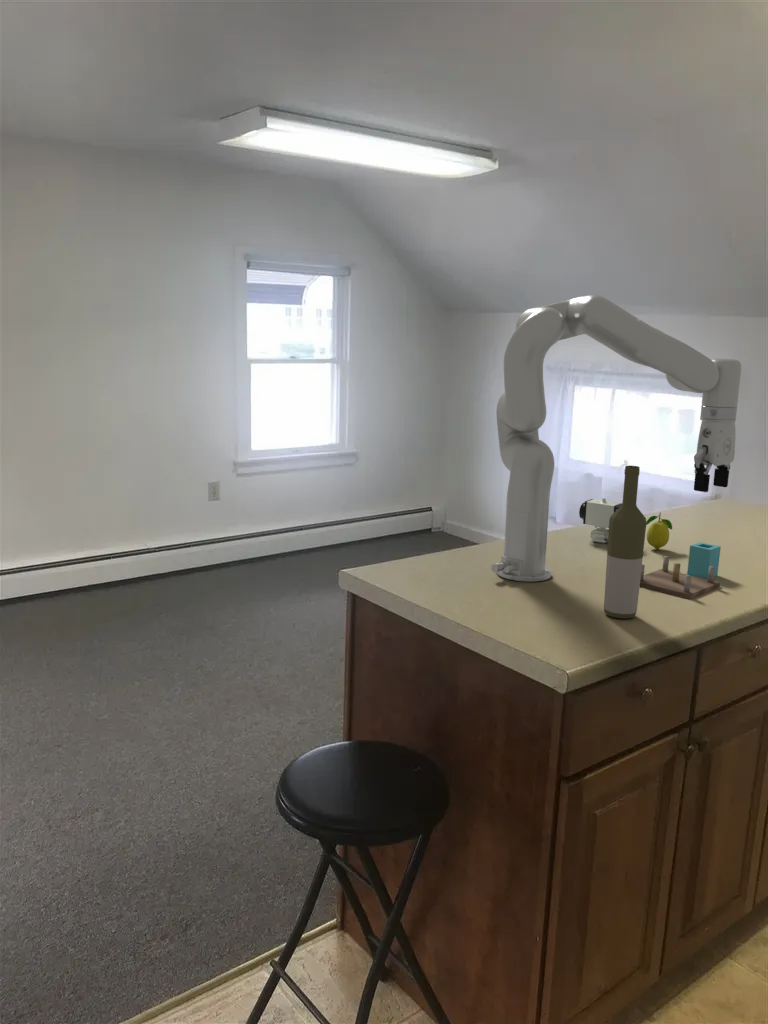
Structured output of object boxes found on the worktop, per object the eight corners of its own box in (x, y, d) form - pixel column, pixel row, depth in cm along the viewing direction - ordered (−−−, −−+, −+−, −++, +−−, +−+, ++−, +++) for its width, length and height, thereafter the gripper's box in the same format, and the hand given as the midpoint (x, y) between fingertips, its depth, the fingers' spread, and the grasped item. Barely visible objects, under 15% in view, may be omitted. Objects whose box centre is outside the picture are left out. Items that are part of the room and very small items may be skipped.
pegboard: (689, 599, 179) (691, 576, 178) (630, 583, 189) (632, 562, 188) (719, 586, 188) (721, 565, 187) (662, 572, 198) (664, 552, 197)
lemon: (642, 550, 218) (645, 513, 216) (643, 545, 223) (647, 509, 221) (669, 553, 216) (673, 515, 213) (670, 548, 221) (673, 511, 219)
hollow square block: (707, 579, 194) (710, 549, 192) (687, 574, 197) (690, 545, 196) (717, 575, 197) (720, 546, 196) (697, 570, 201) (700, 542, 199)
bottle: (643, 614, 168) (657, 466, 162) (629, 623, 163) (643, 470, 156) (610, 607, 172) (622, 462, 166) (595, 615, 167) (607, 466, 161)
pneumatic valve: (618, 547, 221) (621, 502, 218) (576, 539, 228) (580, 496, 225) (626, 543, 225) (629, 499, 223) (585, 536, 232) (588, 493, 230)
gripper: (717, 418, 181) (709, 495, 185) (751, 413, 193) (743, 486, 196) (684, 415, 186) (677, 490, 190) (719, 410, 198) (712, 482, 202)
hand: (710, 488), depth 193 cm, fingers open, 9 cm apart
